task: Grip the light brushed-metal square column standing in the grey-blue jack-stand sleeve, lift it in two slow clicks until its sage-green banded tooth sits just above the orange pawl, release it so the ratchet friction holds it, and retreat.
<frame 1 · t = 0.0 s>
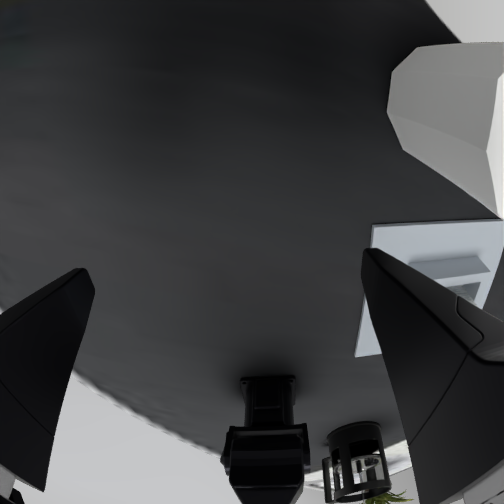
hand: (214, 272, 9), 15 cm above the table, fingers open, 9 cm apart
toilet paper: (441, 107, 19), on the table
stand base: (434, 291, 28), on the table
french press: (351, 434, 44), on the table
house plant: (371, 467, 56), on the table
column: (451, 323, 24), point 5 cm above the table, slide at 0.0 cm
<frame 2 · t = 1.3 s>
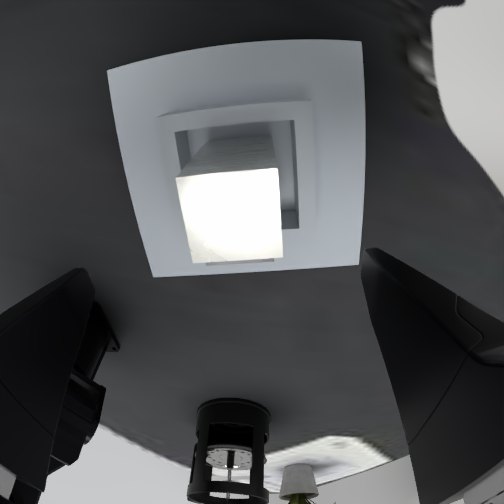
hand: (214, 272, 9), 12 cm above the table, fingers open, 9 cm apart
stand base: (242, 165, 20), on the table
french press: (231, 416, 36), on the table
house plant: (297, 469, 48), on the table
column: (238, 193, 16), point 5 cm above the table, slide at 0.0 cm
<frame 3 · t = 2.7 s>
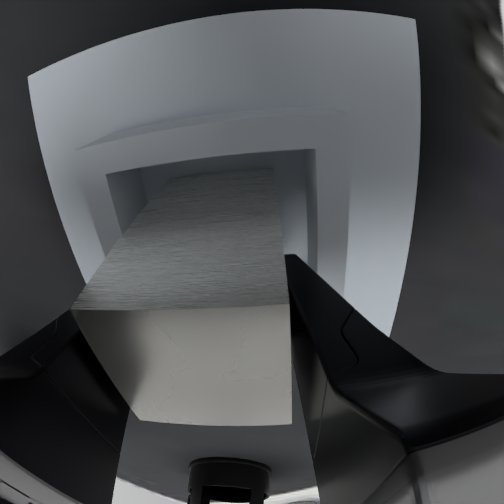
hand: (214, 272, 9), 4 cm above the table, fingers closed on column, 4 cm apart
stand base: (228, 212, 13), on the table
french press: (227, 469, 29), on the table
column: (215, 284, 9), point 5 cm above the table, slide at 0.0 cm, touching gripper
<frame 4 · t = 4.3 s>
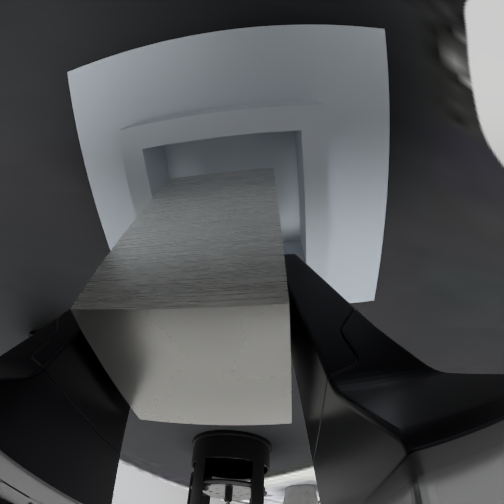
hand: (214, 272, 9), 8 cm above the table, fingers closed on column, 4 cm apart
stand base: (234, 186, 16), on the table
french press: (229, 445, 32), on the table
house plant: (299, 489, 44), on the table
column: (215, 284, 9), point 8 cm above the table, slide at 3.4 cm, touching gripper
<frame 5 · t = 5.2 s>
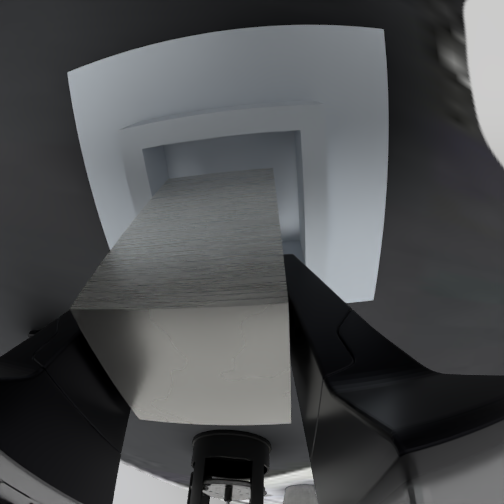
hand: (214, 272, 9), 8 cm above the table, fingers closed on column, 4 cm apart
stand base: (234, 185, 16), on the table
french press: (228, 445, 32), on the table
house plant: (299, 489, 44), on the table
column: (215, 284, 9), point 8 cm above the table, slide at 3.4 cm, touching gripper
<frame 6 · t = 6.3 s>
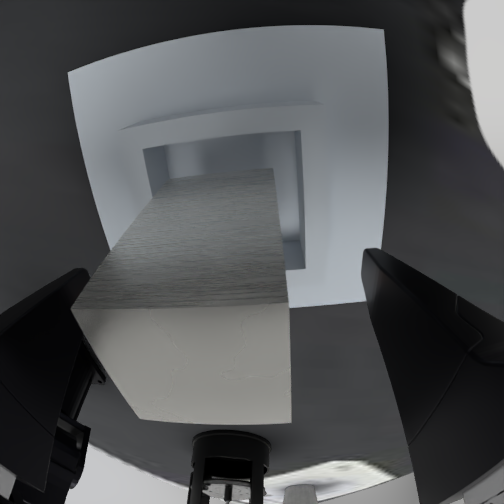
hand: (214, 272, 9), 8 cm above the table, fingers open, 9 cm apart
stand base: (234, 186, 16), on the table
french press: (228, 445, 32), on the table
house plant: (298, 489, 44), on the table
column: (215, 284, 9), point 8 cm above the table, slide at 3.4 cm
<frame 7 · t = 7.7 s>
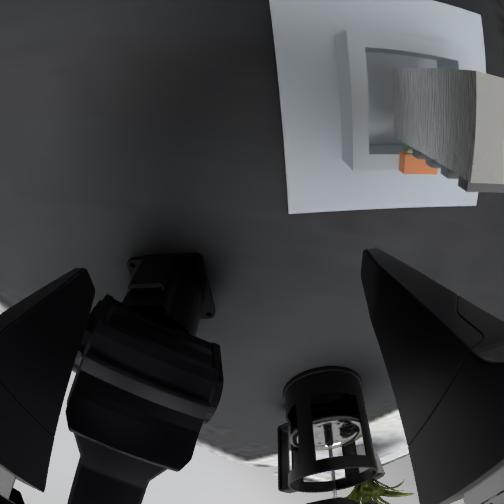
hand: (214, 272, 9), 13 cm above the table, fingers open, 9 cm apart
stand base: (396, 99, 18), on the table
french press: (318, 390, 34), on the table
house plant: (358, 451, 46), on the table
column: (460, 121, 11), point 8 cm above the table, slide at 3.4 cm
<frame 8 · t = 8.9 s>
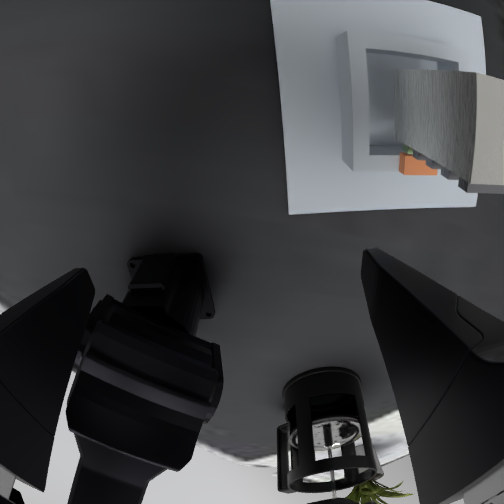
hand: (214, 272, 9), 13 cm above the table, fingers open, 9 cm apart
stand base: (396, 100, 18), on the table
french press: (318, 390, 34), on the table
house plant: (357, 452, 46), on the table
column: (461, 123, 11), point 8 cm above the table, slide at 3.4 cm
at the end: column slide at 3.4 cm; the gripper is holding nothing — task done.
